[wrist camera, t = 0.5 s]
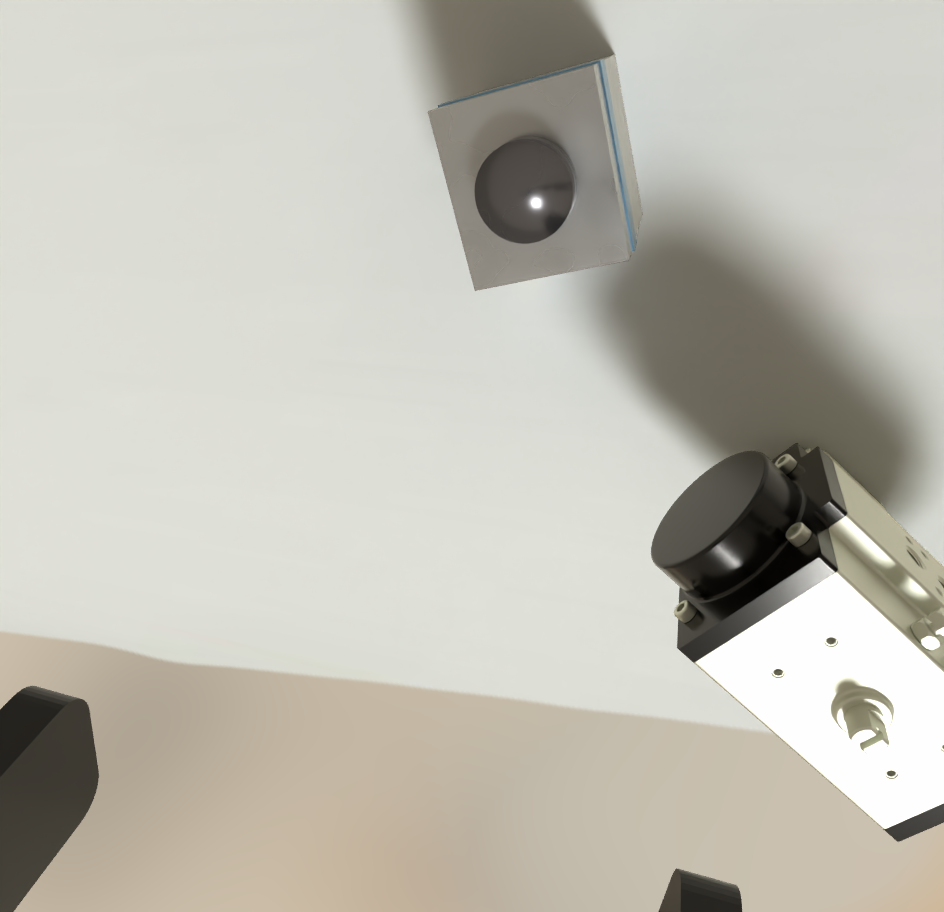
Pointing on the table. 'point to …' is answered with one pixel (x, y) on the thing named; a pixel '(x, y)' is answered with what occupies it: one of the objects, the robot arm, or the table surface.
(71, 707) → the robot arm
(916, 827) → the pneumatic valve
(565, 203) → the grey box with knob
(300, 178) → the table surface
